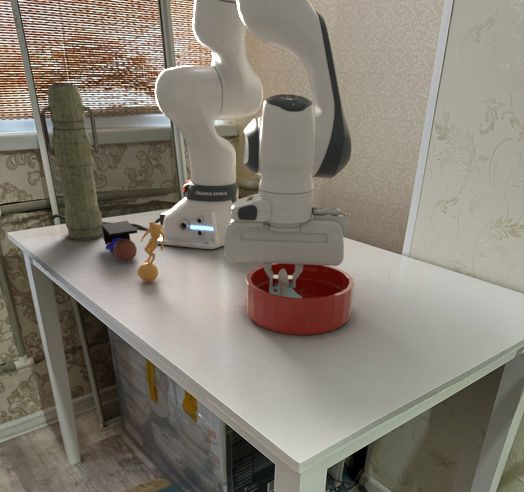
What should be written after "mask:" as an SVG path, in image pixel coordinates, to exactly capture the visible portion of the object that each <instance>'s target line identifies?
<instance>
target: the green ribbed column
mask: <svg viewBox="0 0 524 492" xmlns="http://www.w3.org/2000/svg"><path fill="white" fill-rule="evenodd" d="M47 104H48V105H47V106H46V107H43V108H42V110H41V112H40V113H39V116H40V122H41V126H42V130H43V135H44V140H45V145H46V147H45V148H46V152H47V153H48V154H50V155H51V156H53V157H54V161H55V166H56V168H58V172H59V177H60V184H61V190H62V195H63V202H64V206H65V207H64V215H63V216H64V217H65V220H64V222H65V226H66V228H67V233H68V238H69V239H71V240H75V241H88V240H94V239H99V238H101V237H103V236H102V232H101V227H102V224H103V223H102V222H103V217H102V212H101V210H100V208H99V204H98V197H97V189H96V183H95V175H94V165H95V161H94V155H95V154H99V142H98V135H97V127H96V119H95V113H94V111H93V110H92V109H91V108H90V106H85V105H84V101H83V97H82V95H81V92H80V91H79V87H78V86H77V85H75V84H74V83H51V85H49V86H48V92H47ZM47 111H48V112H49V115H50V121H51V122H52V123H51V124H52V133H53V134H52V140H51V141H50V136H49V130H48V124H47V118H46V113H47ZM87 111H88V113H89V117H90V126H91V132H92V140H93V145H92V141H91V137H90V136H89V134H88V130H87V127H86V122H85V121H86V114H85V112H87ZM51 143H52V147H51Z"/></svg>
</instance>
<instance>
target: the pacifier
mask: <svg viewBox="0 0 524 492" xmlns="http://www.w3.org/2000/svg"><path fill="white" fill-rule="evenodd" d="M278 280H279V282H278V287H269V292H270V293H271V294H275V295H278V296H285V297H292V298H302V297H301V296H300V295H298V294H297V293H296V292H295V291H294V290H293V289H292V288H287V287H288V286H289V280H288V275H287V272H286V270H285V269H281V270H280V272H279V274H278ZM273 290H276V291H277V292H274V291H273Z"/></svg>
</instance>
